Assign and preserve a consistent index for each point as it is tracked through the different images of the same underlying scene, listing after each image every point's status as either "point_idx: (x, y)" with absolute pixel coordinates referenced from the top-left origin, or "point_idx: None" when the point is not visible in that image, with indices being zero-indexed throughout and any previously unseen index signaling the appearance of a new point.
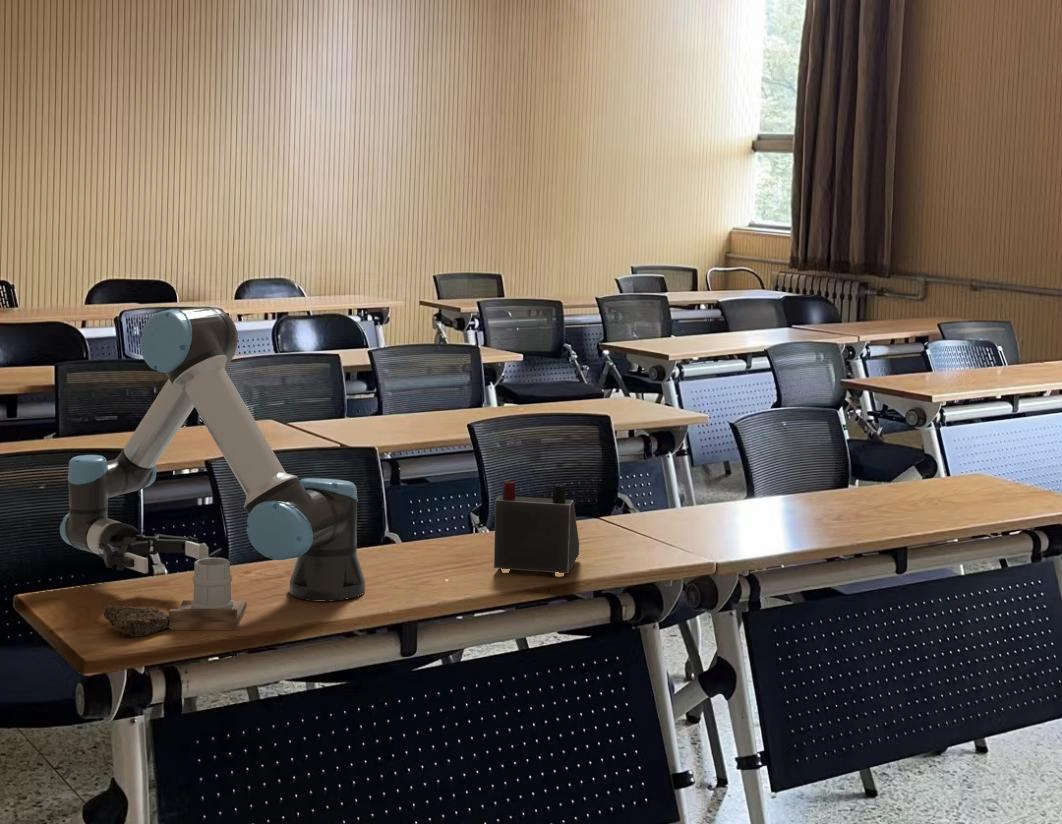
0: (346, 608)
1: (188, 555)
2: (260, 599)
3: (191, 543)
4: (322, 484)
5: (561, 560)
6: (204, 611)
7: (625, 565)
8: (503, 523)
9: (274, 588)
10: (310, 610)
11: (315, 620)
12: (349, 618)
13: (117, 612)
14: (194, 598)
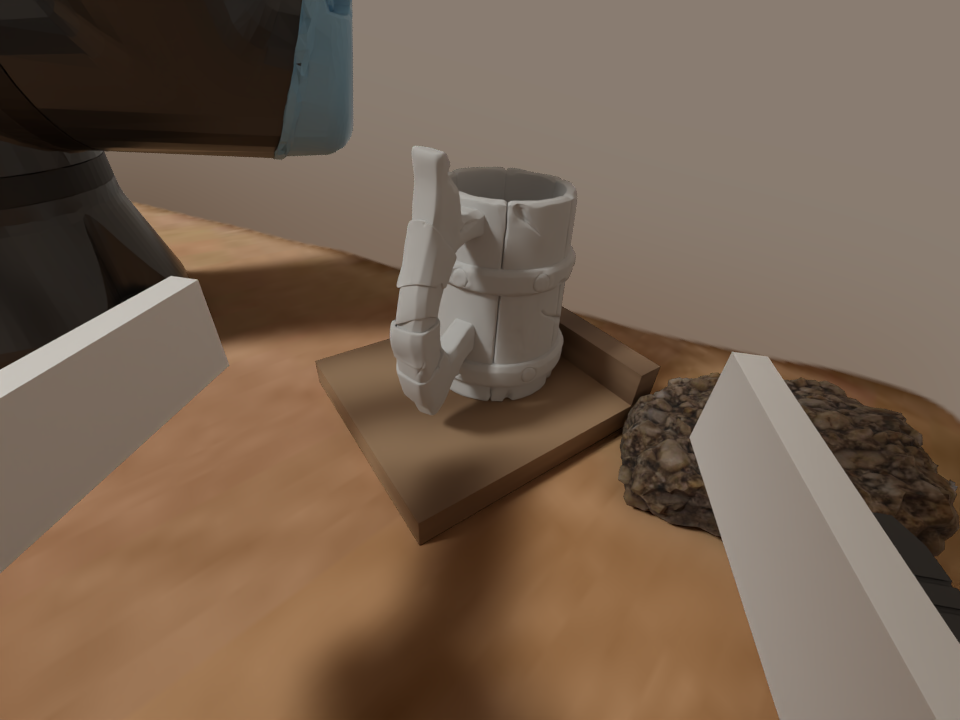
0: (241, 264)
1: (39, 534)
2: (189, 402)
3: (11, 392)
4: None
5: None
6: (571, 312)
7: None
8: None
9: None
10: (281, 292)
11: (354, 268)
12: (315, 247)
13: (894, 415)
14: (555, 330)
